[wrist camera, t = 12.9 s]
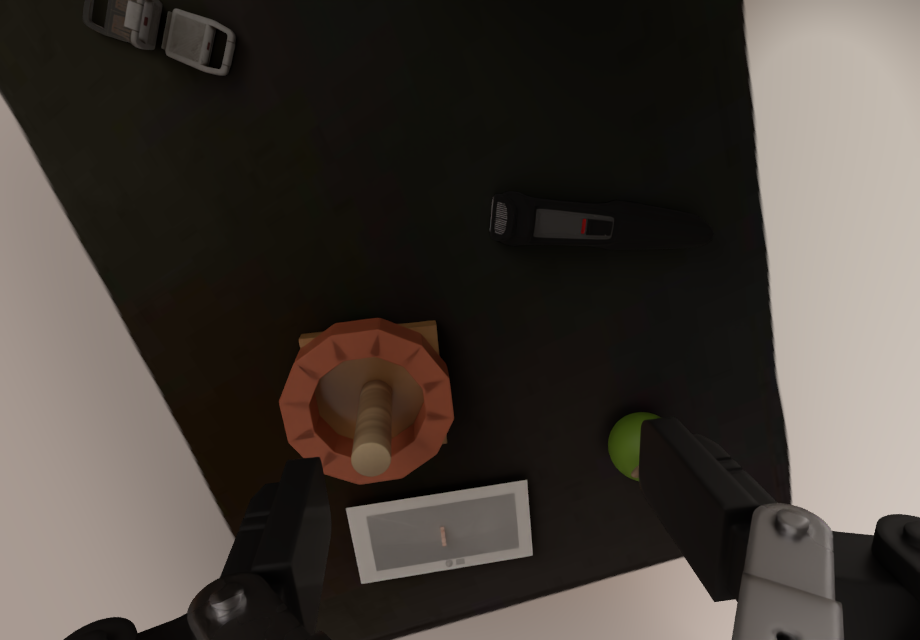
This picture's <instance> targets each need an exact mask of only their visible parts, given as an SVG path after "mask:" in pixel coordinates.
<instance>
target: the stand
mask: <svg viewBox="0 0 920 640" xmlns="http://www.w3.org/2000/svg"><path fill="white" fill-rule="evenodd" d="M398 325H400V326H403V327H406V328H408V329H411V330H414V331H416V332H419V333H421V334H422V335H423V337H424V338H425V339H426V340H427V341H428V343H429V344H430V345H431V346H432V348H433V349H434V350H435V351H436V352H437V354H438V355H439V347H438V336H437V325H436V321H435V320H433V321H424V322H414V323H404V324H398ZM321 333H322V332H316V333H306V334H301V336H300V338H299V344H300V349H301V348H302V347H304V346H305V345H306V344H308V343H309V342H310V341H312V340H313V339H314V338H316V337H317V336H318V335H320V334H321ZM315 397H316V401H317V406H318V411H319V415H320V416H321V417H322V418H323V419H324V420H325V421H326V422H327V423H328V424H329V425H330V427H331V428H332V429H333V430H334V431H335V432H336V433H337V434H339V435H342V436H345V437H348V438H351V439H354V441H353V448H352V455H351V463H352V466H353V468H354V469H355V470H356V471H357V472H358V473H359V474H361V475H363V476H368V477H374V476H378V475H380V474H382V473H384V472H385V471H386V470H387V469H388V468H389V466H390V463H391V441H392V439H393V438H394V437H396V436H397V435H398V434H400V433H401V432H403V431H404V430H405V429H407V428H408V427H410V426H411V425H412V424H414V422H415V420H416V417H417V415H418V413H419V411H420V409H421V407H422V404H423V402H424V397H423V390H422V388H421V387H420V386H419V384H418V383H417V382H416V381H415V380H414V379H413V377H412V376H411V375H410V374H409V373H408V372H407V370H406V369H405V368H404V367H402V366H399V365H397V364H394V363H391V362H388V361H385V360H383V359H380V358H377V357H370V358H363V359H356V360H349V361H343V362H342V363H340V364H339V365H338V366H336V367H335V368H334V369H332V370H331V371H330V372H328V373H327V374H326V375H324V376H323V377H321V378H320V379H319V382H318V384H317V387H316V389H315ZM446 443H447V436H445V438H444V441H443V443H442V444H446Z"/></svg>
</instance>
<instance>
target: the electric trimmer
mask: <svg viewBox="0 0 920 640" xmlns="http://www.w3.org/2000/svg"><path fill="white" fill-rule="evenodd" d="M491 215H492V216H491V226H490V236H491V238H492V239H493V240H495V241H500V242H502V243H503V244H507V245H510V246H519V245H565V246H591V247H600V248H603V249H607V250H643V249H680V248H691V247H696V246H700V245H703V244H706V243H708V242H710V241H711V239H712V238H713V235H714V233H713V229H712V227H711V226H710V225H709V224H708V223H707V222H706V221H704V220H703V219H702V218H701V217H699V216H697V215H694V214H691V213H686V212H681V211H676V210H671V209H665V208H660V207H654V206H649V205H644V204H638V203H633V202H626V201H619V200H613V201H610V202H607V203H598V204H594V203H582V202H570V201H558V200H549V199H541V198H533V197H529V196H527V195H524V194H522V193H520V192H515V191H507V192H505V193H504V194H496V195H495V196H494V198H493V204H492V211H491Z"/></svg>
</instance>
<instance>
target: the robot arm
mask: <svg viewBox="0 0 920 640" xmlns="http://www.w3.org/2000/svg"><path fill="white" fill-rule="evenodd" d="M639 482H640V486H641V490H642V493H643V495H644V497H645V499H646V500H647V502H648V503H649V505H650V506H651V508H652V509H653V511H654V512H655V514H656V515H657V517H658V518H659V520H660V521H661V523H662V524H663V526H664V527H665V529H666V530H667V532H668V533H669V535H670V536H671V538H672V539H673V541H674V542H675V544H676V545H677V547H678V548H679V550H680V551H681V553H682V554H683V556H684V557H685V558H686V560H687V561H688V563H689V564H690V566H691V567H692V569H693V571H694V572H695V574H696V575H697V577H698V578H699V580H700V581H701V583H702V584H703V586H704V587H705V588H706V590H707V591H708V593H709V594H710V596H711V598H712V599H713V600H714V602H719V601H725V600H732V599H736V601H737V602H738V604H737V611H736V616H735V622H734V629H733V635H732V640H920V518H919V517H915V516H910V515H902V514H893V515H887V516H884V517H882V518H881V519H879V520H878V522H877V525H876V529H875V533H874V535H864V534H855V533H845V532H835V531H831V529H830V527H829V526H828V525H827V524H826V523H825V522H824V521H823V520H822V519H821V518H819V517H818V516H817V515H815V514H813V513H811V512H809V511H808V510H805V509H803V508H800V507H797V506H794V505H789V504H782V503H777V502H776V501H775V500H774V499H773V498H772V497H771V496H770V495H769V494H768V493H767V492H766V491H765V490H764V489H763V488H762V487H761V486H760V485H759V484H758V483H757V482H756V481H755V480H754V479H753V478H752V477H751V476H750V475H749V474H748V473H747V472H746V471H745V470H742V467H741V466H740V465H739V464H738V463H737V462H736V461H735V460H734V459H731V456H730V455H729V454H728V453H727V452H726V451H725V450H724V449H723V448H722V447H721V446H719V445H718V444H717V443H715V442H713V441H711V440H710V439H708V438H706V437H704V436H702V435H700V434H691V433H690V432H689V431H688V429H687V428H686V427H685V426H684V425H683V424H682V423H681V422H680V421H679V420H678V419H677V418H675V417H665V418H657V419H648V420H644V421H643V422H642V425H641V433H640V453H639ZM330 537H331V514H330V507H329V501H328V496H327V490H326V484H325V479H324V473H323V467H322V462H321V459H320V457H311V458H302V459H294V460H288V461H287V462H286V465H285V468H284V471H283V474H282V477H281V480H280V482H278V483H270V484H265V485H264V486H263V487H262V488H261V489H260V490H259V491H258V492H257V493H256V494H255V495H254V496H253V498H252V499H251V500H250V503H249V505H248V508H247V511H246V513H245V518H243V521H242V523H241V526H240V531H239V532H238V533H237V536H236V538H235V541H234V544H233V546H232V549H231V551H230V554H229V556H228V559H227V561H226V564H225V566H224V569H223V571H222V574H221V576H220V578H219V579H217V580H215V581H213V582H212V583H210V584H208V585H207V586H206V587H204V588H203V589H202V590H201V591H200V592H199V593H198V594H197V595H196V596H195V598H194V599H193V600H192V602H191V604H190V606H189V608H188V612H187V613H186V614H185V615H183V616H181V617H179V618H176V619H174V620H172V621H169V622H166V623H164V624H161V625H159V626H156V627H153V628H151V629H148V630H145V631H143V632H140V633H137V630H136V628H135V625H134V624H133V623H132V622H131V621H130V620H128V619H126V618H121V617H113V618H106V619H102V620H98V621H95V622H92V623H90V624H88V625H86V626H84V627H82V628H80V629H78V630H77V631H75V632H73V633H72V634H70V635H69V636H68V637H67V638H65V639H64V640H331V639H330V638H329V637H328V636H327V635H326V634H325V633H324V632H322V631H317V632H316V633H315V628H316V622H317V616H318V610H319V604H320V598H321V592H322V586H323V580H324V573H325V567H326V561H327V555H328V549H329V543H330Z"/></svg>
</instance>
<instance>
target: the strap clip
mask: <svg viewBox="0 0 920 640" xmlns="http://www.w3.org/2000/svg"><path fill="white" fill-rule="evenodd" d="M93 5H94V0H85V4H84V10H83V17H82V18H83V22H84V23H85V24H86V25H87V26H88V27H90V28H92V29H93V30H95V31H97V32H99V33H101V34H103V35H106V36H109V37H112V38H116V39H119V40H122V41H126V42H129V43H131V44H132V45H133V46H134V47H137V48H140V49H145V50H154V49H155V45H156V40H157V34H158V29H159V23H160V18H161V12H162V3H161V2H160V1H159V0H108V7H107V13H106V20H105V26H104V28H103V27H101V26H99V25H97V24H94V23H93V22H92V12H93ZM216 29H219V30H221V31H223V32H225V33H226V34H227V35H228V38H227V44H226V49H225V53H224V58H223V63H222V66H221V68H220V69H215V68H211V67H209V62H210V57H211V52H212V47H213V43H214V38H215V33H216ZM235 41H236V35H235V33H234V32H233V31H232V30H230V29H229V28H227V27H225V26H223V25H222V24H220V23H218V22H216V21H214V20H211V19H208V18H205V17H202V16H199V15H196V14H192V13H189V12H186V11H183V10H180V9H174V10H173V12H172V13H171V12H169V11H168V14H167V20H166V25H165V31H164V36H163V42H162V47H161V48H162V49H165V51H166V55H167V56H169V57H171V58H173V59H175V60H178V61H180V62H182V63H185V64H187V65H189V66H192V67H194V68H196V69H199V70H201V71H203V72H206V73H210V74H215V75H219V76H225V75H227V74H228V72H229V69H230V67H231V63H232V58H233V54H234V49H235Z"/></svg>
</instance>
